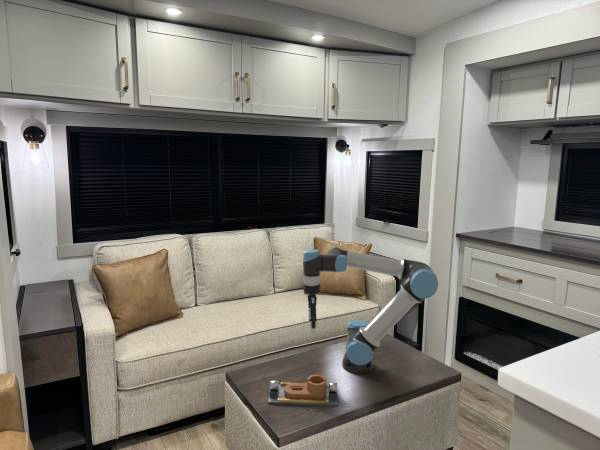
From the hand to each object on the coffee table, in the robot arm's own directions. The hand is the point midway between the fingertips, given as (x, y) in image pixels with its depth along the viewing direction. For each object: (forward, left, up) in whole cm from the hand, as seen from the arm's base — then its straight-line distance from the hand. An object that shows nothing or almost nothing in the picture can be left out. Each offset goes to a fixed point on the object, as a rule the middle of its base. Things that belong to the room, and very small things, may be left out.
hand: (312, 327), depth 188 cm
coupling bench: (+3, +15, -25) cm, 29 cm away
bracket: (+3, +16, -24) cm, 29 cm away
